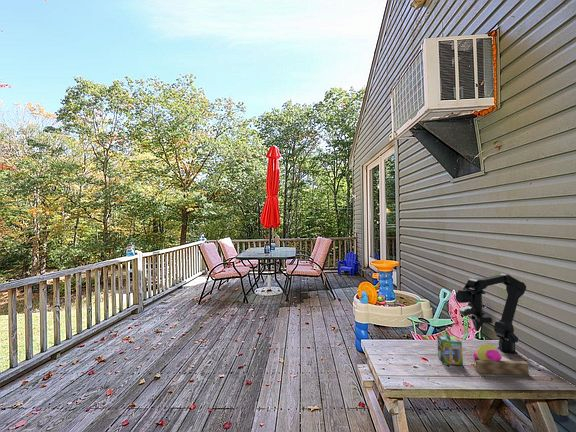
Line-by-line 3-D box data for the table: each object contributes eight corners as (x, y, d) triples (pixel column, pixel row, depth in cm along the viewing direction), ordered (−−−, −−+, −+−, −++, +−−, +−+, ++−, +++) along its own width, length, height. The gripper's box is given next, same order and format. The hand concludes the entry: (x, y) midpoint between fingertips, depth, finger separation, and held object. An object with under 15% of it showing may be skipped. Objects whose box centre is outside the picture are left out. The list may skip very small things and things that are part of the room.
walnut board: (524, 372, 136) (524, 361, 136) (528, 374, 133) (528, 363, 133) (475, 370, 137) (475, 359, 138) (479, 373, 135) (478, 362, 135)
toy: (491, 358, 152) (480, 338, 155) (514, 363, 135) (500, 341, 138) (475, 366, 151) (463, 346, 155) (495, 372, 134) (482, 350, 138)
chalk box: (463, 365, 142) (462, 335, 143) (443, 364, 144) (442, 334, 145) (456, 357, 151) (455, 329, 152) (437, 356, 153) (436, 327, 154)
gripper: (452, 297, 167) (453, 324, 167) (469, 306, 149) (471, 337, 148) (472, 297, 167) (473, 325, 166) (492, 306, 148) (493, 337, 147)
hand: (477, 330), depth 157 cm, fingers closed
